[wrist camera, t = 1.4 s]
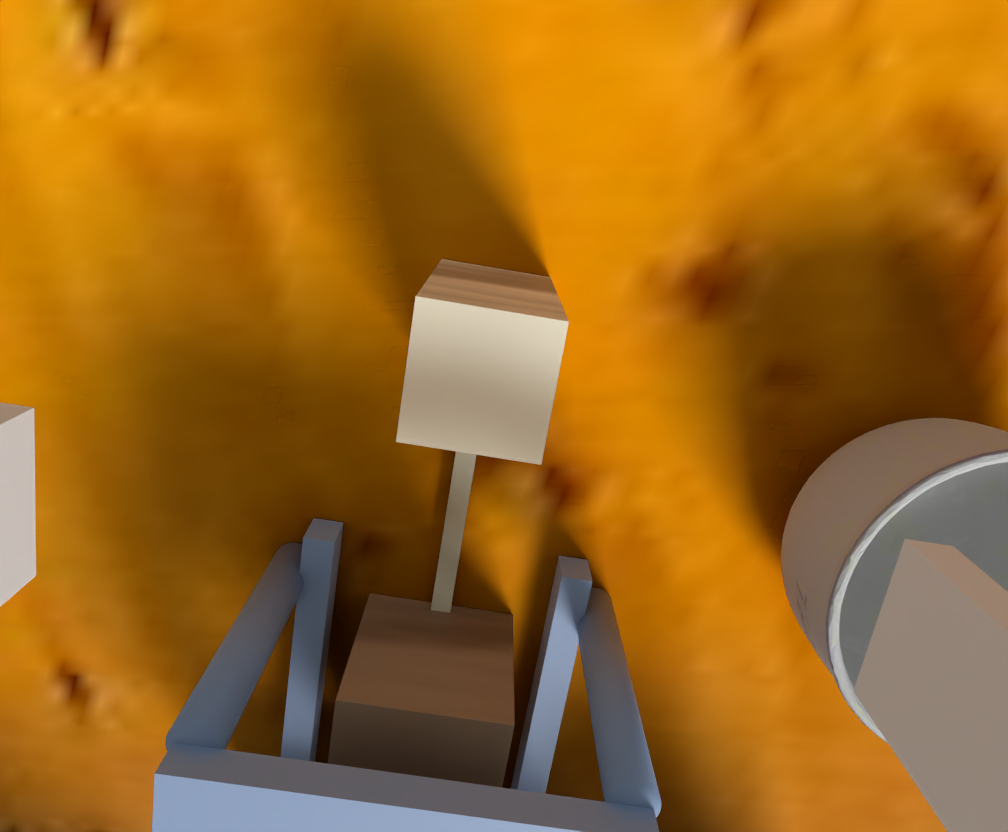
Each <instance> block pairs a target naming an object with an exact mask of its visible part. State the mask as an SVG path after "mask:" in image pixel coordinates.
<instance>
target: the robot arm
mask: <svg viewBox="0 0 1008 832" xmlns="http://www.w3.org/2000/svg"><path fill="white" fill-rule="evenodd" d="M35 576H36V524H35V437H34V407H27V406H20V405H14V404H7V403H0V606H2V605H3V604H4V603H5V602H6V601H7V600H9V599H10V598H11V597H12V596H13V595H14V594H15V593H17V592H18V591H19V590H20V589H21V588H22V587H24V586H25V585H26V584H27V583H28V582H29V581H30V580H32V579H33V578H34V577H35ZM853 691H854V693H855V694H856V696H857V697H858V699H859V700H860V702H861V703H862V705H863V706H864V708H865V709H866V711H867V712H868V714H869V715H870V717H871V718H872V720H873V721H874V723H875V724H876V726H877V727H878V729H879V730H880V732H881V733H882V735H883V736H884V738H885V739H886V741H887V742H888V744H889V745H890V747H891V748H892V750H893V751H894V753H895V754H896V756H897V757H898V759H899V760H900V762H901V763H902V765H903V766H904V767H905V769H906V770H907V772H908V773H909V775H910V776H911V778H912V779H913V781H914V782H915V784H916V785H917V787H918V788H919V790H920V791H921V793H922V794H923V796H924V797H925V799H926V800H927V802H928V803H929V805H930V806H931V808H932V809H933V811H934V812H935V814H936V815H937V817H938V818H939V820H940V821H941V823H942V824H943V826H944V827H945V829H946V830H947V832H1008V592H1007V591H1006V590H1005V589H1004V588H1002V587H1001V586H1000V585H999V584H998V583H996V582H995V581H994V580H993V579H992V578H990V577H989V576H988V575H987V574H986V573H985V572H983V571H982V570H981V569H980V568H979V567H977V566H976V565H975V564H974V563H973V562H971V561H970V560H969V559H968V558H967V557H965V556H964V555H963V554H962V553H961V552H960V551H958V550H957V549H956V548H955V547H954V546H950V545H943V544H936V543H930V542H923V541H917V540H910V539H905V540H904V542H903V545H902V548H901V551H900V554H899V557H898V560H897V563H896V566H895V569H894V572H893V575H892V578H891V581H890V584H889V587H888V590H887V593H886V596H885V599H884V602H883V605H882V608H881V611H880V613H879V616H878V619H877V622H876V625H875V628H874V631H873V634H872V637H871V640H870V643H869V646H868V649H867V652H866V655H865V658H864V661H863V664H862V667H861V670H860V673H859V676H858V679H857V681H856V684H855V687H854V690H853Z"/></svg>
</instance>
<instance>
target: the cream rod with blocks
mask: <svg viewBox="0 0 1008 832" xmlns="http://www.w3.org/2000/svg"><path fill="white" fill-rule="evenodd" d="M568 324H569V321H568V318H567V316H566V314H565V311H564V309H563V306H562V304H561V302H560V299H559V297H558V295H557V292H556V290H555V287H554V285H553V283H552V280H551V278H550V277H546V276H541V275H535V274H529V273H523V272H517V271H511V270H505V269H499V268H493V267H487V266H481V265H475V264H470V263H464V262H458V261H452V260H446V259H441V261H440V262H439V264H438V265H437V266H436V268H435V269H434V271H433V272H432V274H431V275H430V276H429V278H428V279H427V281H426V282H425V283H424V285H423V286H422V288H421V289H420V291H419V292H418V293H417V295H416V296H415V304H414V311H413V318H412V326H411V333H410V341H409V348H408V356H407V363H406V370H405V378H404V385H403V393H402V400H401V407H400V415H399V422H398V430H397V437H396V442H400V443H406V444H412V445H419V446H425V447H431V448H438V449H444V450H451V451H456V454H455V460H454V466H453V473H452V479H451V485H450V492H449V498H448V504H447V510H446V517H445V523H444V529H443V536H442V542H441V548H440V555H439V561H438V567H437V573H436V580H435V586H434V592H433V599H432V602H426V601H419V600H413V599H406V598H399V597H392V596H386V595H379V594H372V593H370V594H369V597H368V600H367V603H366V606H365V609H364V613H363V616H362V619H361V622H360V625H359V628H358V631H357V634H356V638H355V641H354V644H353V647H352V650H351V653H350V656H349V660H348V663H347V666H346V669H345V672H344V675H343V678H342V681H341V685H340V688H339V691H338V694H337V697H336V700H335V708H334V716H333V724H332V732H331V740H330V749H329V757H328V764H334V765H342V766H349V767H356V768H363V769H371V770H378V771H385V772H392V773H400V774H407V775H414V776H421V777H429V778H436V779H443V780H450V781H458V782H465V783H472V784H479V785H487V786H494V787H501V788H502V785H503V780H504V776H505V771H506V766H507V761H508V756H509V751H510V746H511V741H512V736H513V731H514V726H515V717H514V660H513V614H507V613H500V612H493V611H487V610H480V609H473V608H466V607H460V606H453V605H451V604H452V598H453V592H454V586H455V580H456V574H457V569H458V563H459V557H460V551H461V545H462V539H463V533H464V527H465V521H466V515H467V509H468V503H469V497H470V491H471V485H472V479H473V473H474V467H475V461H476V455H482V456H489V457H495V458H501V459H508V460H514V461H520V462H527V463H533V464H539V465H541V464H542V459H543V453H544V448H545V443H546V438H547V433H548V427H549V422H550V417H551V412H552V407H553V402H554V396H555V391H556V386H557V381H558V376H559V370H560V365H561V360H562V355H563V350H564V345H565V339H566V334H567V329H568Z"/></svg>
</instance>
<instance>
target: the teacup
mask: <svg viewBox="0 0 1008 832" xmlns="http://www.w3.org/2000/svg"><path fill="white" fill-rule="evenodd" d="M905 539H910V540H917V541H923V542H930V543H936V544H943V545H950V546H954V547H955V548H956V549H957V550H958V551H960V552H961V553H962V554H963V555H964V556H965V557H967V558H968V559H969V560H970V561H971V562H973V563H974V564H975V565H976V566H977V567H979V568H980V569H981V570H982V571H983V572H985V573H986V574H987V575H988V576H989V577H990V578H992V579H993V580H994V581H995V582H996V583H998V584H999V585H1000V586H1001V587H1002V588H1004V589H1005V590H1006V591H1007V592H1008V432H1007V431H1004V430H1000V429H997V428H994V427H990V426H987V425H983V424H979V423H975V422H969V421H964V420H958V419H949V418H923V419H913V420H907V421H901V422H896V423H893V424H889V425H886V426H883V427H880V428H877V429H875V430H872V431H869V432H867V433H865V434H863V435H861V436H859V437H857V438H855V439H854V440H852V441H850V442H849V443H847V444H845V445H844V446H842V447H841V448H840V449H838V450H837V451H836V452H834V453H833V454H832V455H831V456H830V457H828V458H827V459H826V460H825V461H824V462H823V463H822V464H821V465H820V466H819V467H818V468H817V469H816V470H815V472H814V473H813V474H812V475H811V476H810V477H809V478H808V480H807V481H806V483H805V484H804V486H803V487H802V489H801V490H800V492H799V494H798V496H797V498H796V499H795V501H794V503H793V505H792V508H791V510H790V513H789V516H788V519H787V522H786V525H785V529H784V534H783V538H782V548H781V569H782V576H783V583H784V587H785V591H786V595H787V598H788V600H789V603H790V606H791V608H792V610H793V613H794V615H795V617H796V619H797V621H798V623H799V625H800V627H801V628H802V630H803V632H804V633H805V635H806V637H807V638H808V640H809V642H810V643H811V645H812V647H813V648H814V650H815V651H816V653H817V654H818V656H819V657H820V659H821V660H822V662H823V663H824V664H825V666H826V667H827V669H828V670H829V671H830V673H831V674H832V676H833V677H834V679H835V681H836V683H837V686H838V688H839V690H840V692H841V694H842V695H843V697H844V699H845V700H846V702H847V703H848V705H849V706H850V708H851V709H852V710H853V712H854V713H855V714H856V715H857V716H858V717H859V719H860V720H861V721H862V723H863V724H865V725H866V726H867V727H868V728H870V729H871V730H872V731H873V732H874V733H875V734H876V735H877V736H878V737H880V738H881V739H883V740H884V741H885V742H886V743H888V742H887V741H886V739H885V738H884V736H883V735H882V733H881V732H880V730H879V729H878V727H877V726H876V724H875V723H874V721H873V720H872V718H871V717H870V715H869V714H868V712H867V711H866V709H865V708H864V706H863V705H862V703H861V702H860V700H859V699H858V697H857V696H856V694H855V693H854V691H853V690H854V687H855V684H856V681H857V679H858V676H859V673H860V670H861V667H862V664H863V661H864V658H865V655H866V652H867V649H868V646H869V643H870V640H871V637H872V634H873V631H874V628H875V625H876V622H877V619H878V616H879V613H880V611H881V608H882V605H883V602H884V599H885V596H886V593H887V590H888V587H889V584H890V581H891V578H892V575H893V572H894V569H895V566H896V563H897V560H898V557H899V554H900V551H901V548H902V545H903V542H904V540H905Z"/></svg>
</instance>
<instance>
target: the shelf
mask: <svg viewBox="0 0 1008 832" xmlns="http://www.w3.org/2000/svg"><path fill="white" fill-rule="evenodd" d="M343 524H344V522H337V521H330V520H324V519H317V518H314V519H313V520H312V522H311V524H310V526H309V528H308V530H307V531H306V533H305V535H304V537H303V543H302V544H300V543H296V542H290V543H286V544H284V545H282V546H281V547H280V548H279V549H278V550H277V552H276V553H275V555H274V557H273V558H272V560H271V562H270V563H269V565H268V567H267V568H266V570H265V572H264V573H263V575H262V577H261V578H260V580H259V582H258V583H257V585H256V587H255V588H254V590H253V592H252V593H251V595H250V597H249V598H248V600H247V602H246V603H245V605H244V607H243V608H242V610H241V612H240V613H239V615H238V617H237V618H236V620H235V622H234V623H233V625H232V627H231V628H230V630H229V632H228V633H227V635H226V637H225V638H224V640H223V642H222V643H221V645H220V647H219V648H218V650H217V652H216V654H215V655H214V657H213V659H212V660H211V662H210V664H209V665H208V667H207V669H206V670H205V672H204V674H203V675H202V677H201V679H200V680H199V682H198V684H197V685H196V687H195V689H194V690H193V692H192V694H191V695H190V697H189V699H188V700H187V702H186V704H185V705H184V707H183V709H182V710H181V712H180V714H179V715H178V717H177V719H176V720H175V722H174V724H173V725H172V727H171V729H170V730H169V732H168V734H167V737H166V748H167V751H168V752H167V753H166V755H165V757H164V758H163V760H162V762H161V764H160V765H159V767H158V769H157V771H156V772H155V780H154V801H153V822H152V832H659V828H658V824H657V820H656V818H657V816H658V815H659V813H660V810H661V798H660V794H659V790H658V786H657V782H656V778H655V774H654V770H653V766H652V762H651V758H650V754H649V750H648V746H647V742H646V738H645V734H644V730H643V726H642V722H641V718H640V713H639V709H638V705H637V701H636V697H635V693H634V689H633V685H632V681H631V677H630V673H629V669H628V665H627V661H626V657H625V653H624V649H623V645H622V641H621V637H620V633H619V629H618V625H617V621H616V617H615V613H614V609H613V605H612V601H611V598H610V596H609V595H608V593H607V592H605V591H604V590H602V589H599V588H591V586H592V582H593V581H592V577H591V572H590V567H589V563H588V560H586V559H580V558H573V557H567V556H560V555H559V558H558V562H557V567H556V572H555V577H554V582H553V587H552V591H551V596H550V601H549V606H548V611H547V616H546V620H545V625H544V630H543V635H542V640H541V644H540V649H539V654H538V659H537V664H536V669H535V673H534V678H533V683H532V688H531V693H530V698H529V702H528V707H527V712H526V717H525V722H524V726H523V731H522V736H521V741H520V746H519V751H518V755H517V760H516V765H515V770H514V775H513V780H512V784H511V789H508V788H501V787H494V786H487V785H479V784H472V783H465V782H458V781H450V780H443V779H436V778H429V777H421V776H414V775H407V774H400V773H392V772H385V771H378V770H371V769H363V768H356V767H349V766H342V765H334V764H327V763H320V762H315V760H316V752H317V743H318V735H319V726H320V718H321V710H322V701H323V693H324V684H325V676H326V667H327V659H328V650H329V642H330V634H331V625H332V617H333V608H334V600H335V591H336V583H337V574H338V566H339V558H340V549H341V541H342V532H343ZM295 603H296V611H295V621H294V631H293V640H292V650H291V660H290V670H289V679H288V689H287V699H286V708H285V718H284V728H283V738H282V747H281V757H276V756H269V755H262V754H255V753H247V752H240V751H233V750H226V746H227V744H228V742H229V740H230V738H231V736H232V734H233V732H234V730H235V728H236V726H237V724H238V722H239V720H240V717H241V715H242V713H243V711H244V709H245V707H246V705H247V703H248V701H249V699H250V697H251V695H252V693H253V691H254V688H255V686H256V684H257V682H258V680H259V678H260V676H261V674H262V672H263V670H264V668H265V666H266V664H267V662H268V659H269V657H270V655H271V653H272V651H273V649H274V647H275V645H276V643H277V641H278V639H279V637H280V635H281V633H282V630H283V628H284V626H285V624H286V622H287V620H288V618H289V616H290V614H291V612H292V610H293V608H294V606H295ZM578 644H579V645H580V651H581V658H582V664H583V670H584V677H585V683H586V689H587V696H588V702H589V709H590V715H591V721H592V728H593V734H594V740H595V747H596V753H597V759H598V766H599V772H600V778H601V785H602V791H603V798H604V802H603V801H595V800H588V799H581V798H574V797H566V796H559V795H552V794H545V792H546V788H547V783H548V779H549V774H550V770H551V765H552V761H553V756H554V752H555V747H556V743H557V738H558V734H559V729H560V725H561V720H562V716H563V711H564V707H565V703H566V698H567V694H568V689H569V685H570V680H571V676H572V671H573V667H574V662H575V658H576V653H577V649H578Z"/></svg>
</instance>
